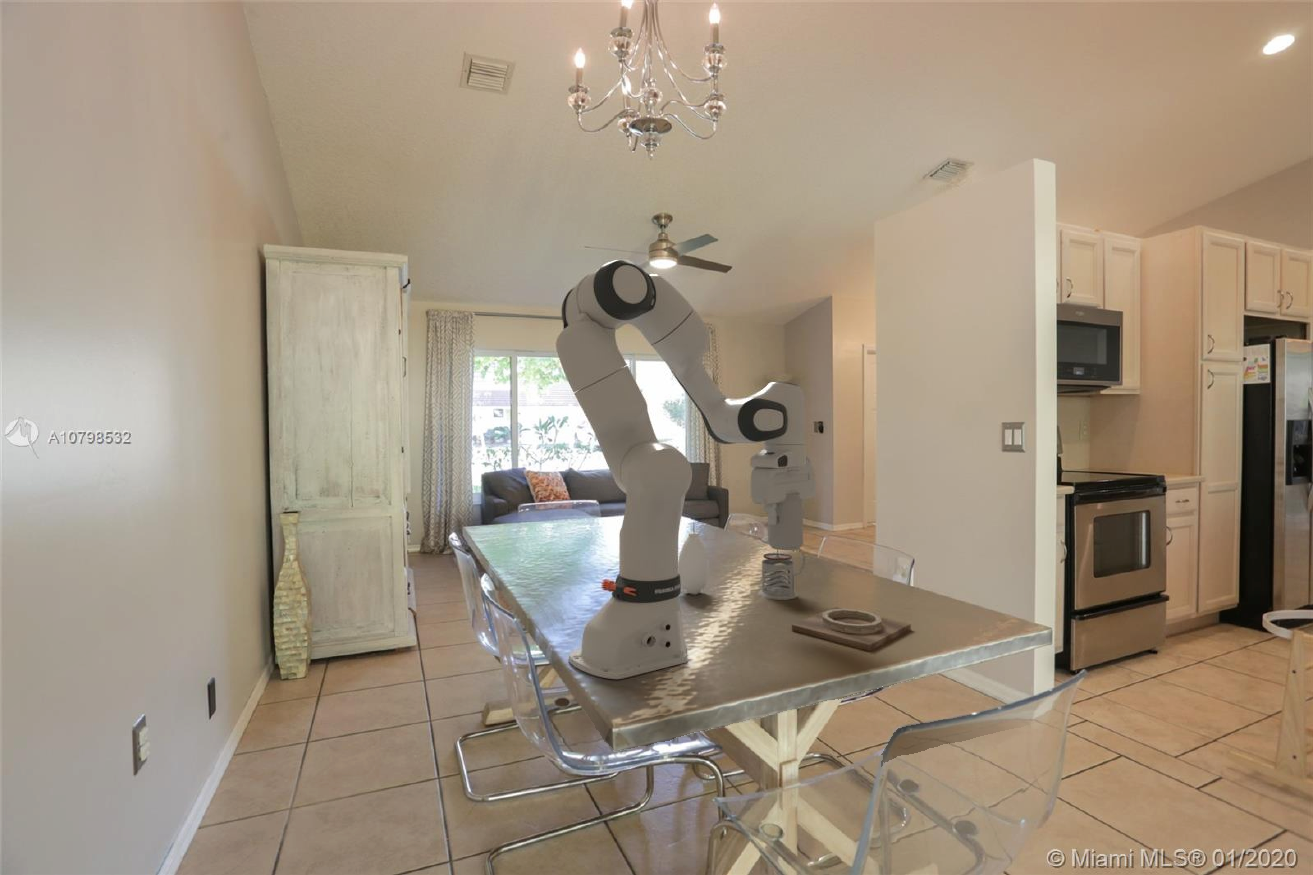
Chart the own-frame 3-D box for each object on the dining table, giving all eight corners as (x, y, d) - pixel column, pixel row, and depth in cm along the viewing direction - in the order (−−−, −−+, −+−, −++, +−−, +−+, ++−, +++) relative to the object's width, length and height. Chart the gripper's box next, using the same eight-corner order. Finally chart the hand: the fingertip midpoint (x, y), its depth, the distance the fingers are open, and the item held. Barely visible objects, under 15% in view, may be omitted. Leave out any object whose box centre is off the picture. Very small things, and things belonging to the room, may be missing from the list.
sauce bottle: (676, 589, 161) (676, 520, 160) (705, 589, 161) (706, 519, 161) (680, 598, 153) (680, 524, 153) (711, 597, 154) (712, 524, 153)
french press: (757, 588, 162) (757, 492, 162) (802, 590, 160) (803, 493, 160) (758, 598, 152) (758, 496, 152) (806, 600, 151) (807, 497, 150)
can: (800, 544, 138) (799, 490, 138) (806, 551, 131) (805, 494, 130) (765, 544, 138) (765, 490, 138) (770, 551, 131) (769, 494, 131)
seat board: (869, 651, 116) (870, 637, 116) (791, 630, 128) (792, 617, 128) (910, 629, 129) (910, 616, 129) (836, 612, 141) (836, 600, 141)
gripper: (798, 455, 144) (798, 515, 144) (745, 459, 129) (745, 525, 129) (822, 456, 139) (822, 517, 140) (770, 460, 125) (771, 528, 125)
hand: (785, 521), depth 134 cm, fingers closed on can, 7 cm apart
